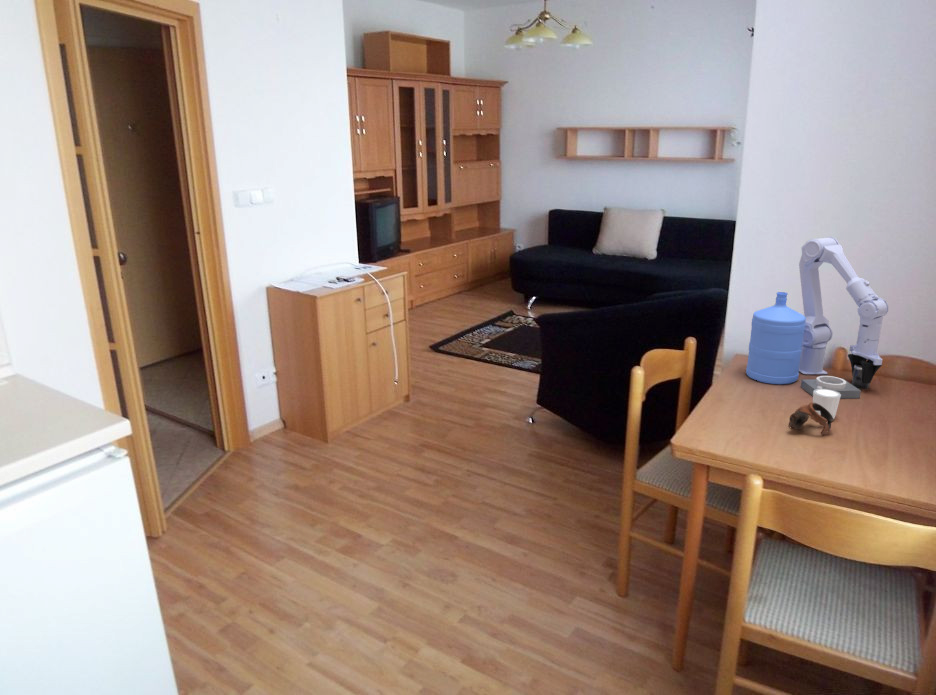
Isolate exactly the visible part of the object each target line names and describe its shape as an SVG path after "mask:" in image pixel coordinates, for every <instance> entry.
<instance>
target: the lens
mask: <svg viewBox="0 0 936 695" xmlns="http://www.w3.org/2000/svg"><path fill="white" fill-rule="evenodd" d="M851 379H852V380H851V384H852V385H853V386H855V387H856V388H858V389H859V390H868V388H869V389H870V384H871V382H870V383H862V366H861V363H856V364H855V365H854V372H853V376H852V378H851Z"/></svg>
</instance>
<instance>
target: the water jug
mask: <svg viewBox="0 0 936 695" xmlns="http://www.w3.org/2000/svg"><path fill="white" fill-rule="evenodd" d="M788 295H789V294H788V293H787V292H783V291H782V292H781V291H777V292H776V298H775V304H774V305H771V306H768V307H765V308H762V309H759V310H756V311H754V312H753V315H752V319H751V330H750V339H749V343H748V356H747V365H746V368H745V373H746V375H747V376H748V377H749V378H750V379H752V380H754V381H756V380H757V382H760V383H763V384H770V385H789V384H790V385H791V384H793V383H795V382H796V381H798V379H799V376H800V371H799V364H800V357H801V352H802V342H803V336H804V331H805V325H806V323H805V321H806V318H805V316H804V314H802V313H801V312H798V311H796V310H795V309H792V308H791V307H789V306H788V305H787V301H788V298H787V297H788Z"/></svg>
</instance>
